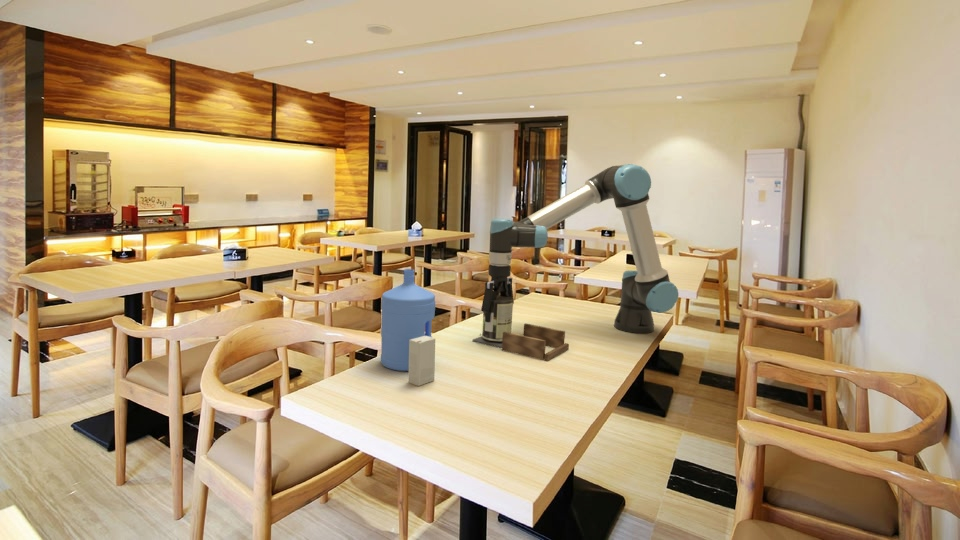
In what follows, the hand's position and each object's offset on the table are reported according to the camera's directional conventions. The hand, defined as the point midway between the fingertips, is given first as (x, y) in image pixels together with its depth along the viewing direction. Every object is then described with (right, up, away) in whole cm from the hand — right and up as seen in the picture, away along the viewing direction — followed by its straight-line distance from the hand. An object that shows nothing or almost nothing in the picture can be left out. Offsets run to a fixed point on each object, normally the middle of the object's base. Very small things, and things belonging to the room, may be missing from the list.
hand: (497, 328), depth 181 cm
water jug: (-28, -8, -25) cm, 38 cm away
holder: (+12, -6, -7) cm, 16 cm away
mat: (0, -5, +1) cm, 5 cm away
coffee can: (0, -3, +1) cm, 4 cm away
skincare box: (-22, -10, -40) cm, 47 cm away
